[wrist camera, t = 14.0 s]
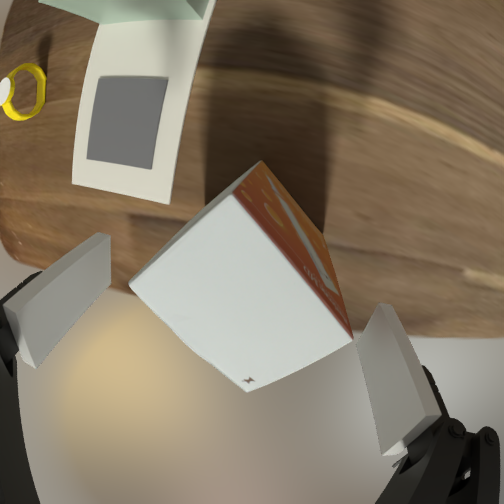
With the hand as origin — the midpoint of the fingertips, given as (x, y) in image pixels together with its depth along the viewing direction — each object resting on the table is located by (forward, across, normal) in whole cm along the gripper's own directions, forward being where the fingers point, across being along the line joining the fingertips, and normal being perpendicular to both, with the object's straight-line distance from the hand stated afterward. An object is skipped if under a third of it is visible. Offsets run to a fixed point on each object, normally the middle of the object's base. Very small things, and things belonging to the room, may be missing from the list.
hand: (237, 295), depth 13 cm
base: (+11, +13, -13) cm, 21 cm away
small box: (+12, -1, 0) cm, 12 cm away
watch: (+12, +25, -9) cm, 29 cm away
